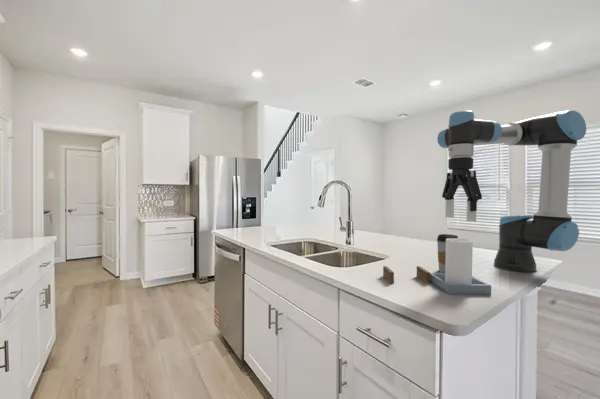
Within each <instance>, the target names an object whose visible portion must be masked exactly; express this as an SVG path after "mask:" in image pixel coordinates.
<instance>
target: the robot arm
mask: <svg viewBox="0 0 600 399" xmlns="http://www.w3.org/2000/svg"><path fill="white" fill-rule="evenodd" d="M586 134H587V123H586V120H585V118H584V117H583V115H582V114H581V113H580V112H579V111H576V110H575V109H572V110H571V109H569V110H564V111H561V110H560V111H557V112H553V113H549V114H544V115H540V116H535V117H531V118H527V119H524V120H520V121H516V122H508V123H506V124H504V125H501V123H500V122H498V121H494V120H490V119H487V120H486V119H475V113H474V112H473V111H472V110H460V111H455V112H452V113H451V114H450V115H449V119H448V126H447V128H446V129H442V130H441V131H439V133H438V135H437V139H436V140H437V144H438V146H440V148H442V149H447V150H448V158H449V159H448V160H447V161H448V163H447V164H448V165H447V167H448V170H451V172H447V173H446V179H445V183H444V187H443V190H442V191H443V192H442V195H441V197H442V198H443V199H444V200H445V219H447V218H448V219H449V218H455V216H454V215H455V198H454V197H455V195H456V192H457V190H458V188H459V187H460V186H461V187H462V188H463V191H464V192H465V195H466V197H467V199H466V222H477V209H478V208H477V206H478V201H479V200H482V199H483V196H482V192H481V189H480V186H479V182H478V179H477V171H476V170H472V169H473V168H474V158H473V157H474V146H484V145H499V144H504V145H506V146H537V149H539V150H540V151H541V152H542V154H541V166H540V167H541V170H540V183H539V197H538V211H536V212H535V213H533V215H532V214H524V215H523V214H521V215H519V214H518V215H504V216H501V217H500V218H499V225H498V228H499V229H498V230H499V231H498V232H499V236H498V237H499V238H498V244H499V245H498V250H497V253H496V256H495V257H494V260H493V261H494V262H493V265H494V266H495V267H497V268H500V269H503V270H507V271H514V272H525V273H531V272H536V271H537V263H536V260H535V257H534V254H533V251H532V248H533V247H534V248H537V249H538V248H539V249H544V250H548V251H556V252H567V251H569V250H571V249H572V248H573V247H574V246H575V244H576V243H577V242H578V239H579V236H580V228H579V226H578V224H577V223H576V222H574V221H572V218H573V217H572V216H571V215H570V214H569V213H568V199H569V187H570V173H571V172H570V171H571V157H572V156H571V155H572V150H574V148H576V147H578V146H577V145H578V141H581V140H582V139H584V137H585V135H586Z"/></svg>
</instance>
